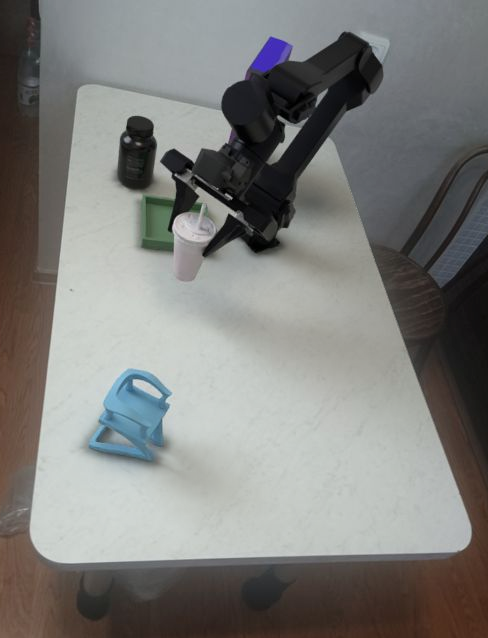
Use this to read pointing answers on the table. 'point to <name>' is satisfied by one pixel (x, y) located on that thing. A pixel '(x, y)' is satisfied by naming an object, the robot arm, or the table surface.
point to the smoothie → (191, 243)
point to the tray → (159, 221)
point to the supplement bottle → (137, 153)
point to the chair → (133, 415)
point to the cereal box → (268, 60)
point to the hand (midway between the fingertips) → (186, 244)
